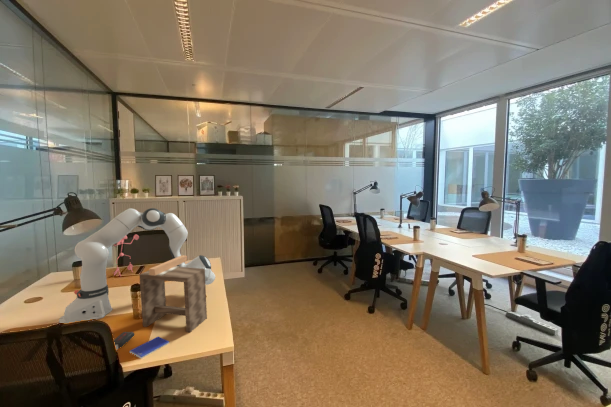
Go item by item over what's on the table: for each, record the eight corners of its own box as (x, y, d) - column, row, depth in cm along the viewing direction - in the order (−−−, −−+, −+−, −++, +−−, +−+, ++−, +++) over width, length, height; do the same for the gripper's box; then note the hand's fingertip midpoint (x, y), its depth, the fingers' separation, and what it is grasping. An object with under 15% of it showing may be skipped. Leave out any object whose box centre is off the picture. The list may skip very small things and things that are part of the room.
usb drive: (134, 336, 135) (134, 330, 134) (117, 351, 123) (117, 345, 122) (123, 336, 135) (123, 330, 134) (105, 352, 123) (104, 345, 123)
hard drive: (140, 356, 117) (169, 341, 128) (129, 350, 121) (157, 336, 132) (141, 360, 117) (169, 344, 128) (129, 353, 122) (157, 339, 132)
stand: (190, 332, 136) (187, 277, 134) (142, 326, 143) (139, 273, 140) (206, 318, 150) (204, 267, 148) (163, 313, 156) (160, 264, 154)
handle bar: (155, 275, 137) (154, 269, 137) (149, 275, 138) (149, 268, 137) (187, 260, 160) (186, 255, 160) (182, 260, 161) (181, 255, 161)
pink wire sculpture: (144, 269, 231) (140, 225, 227) (109, 280, 208) (104, 231, 205) (132, 267, 238) (128, 224, 235) (97, 277, 215) (92, 229, 212)
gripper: (183, 267, 175) (168, 261, 163) (213, 269, 171) (201, 264, 158) (180, 278, 173) (165, 273, 161) (211, 280, 168) (198, 275, 156)
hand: (183, 268), depth 159 cm, fingers open, 8 cm apart
